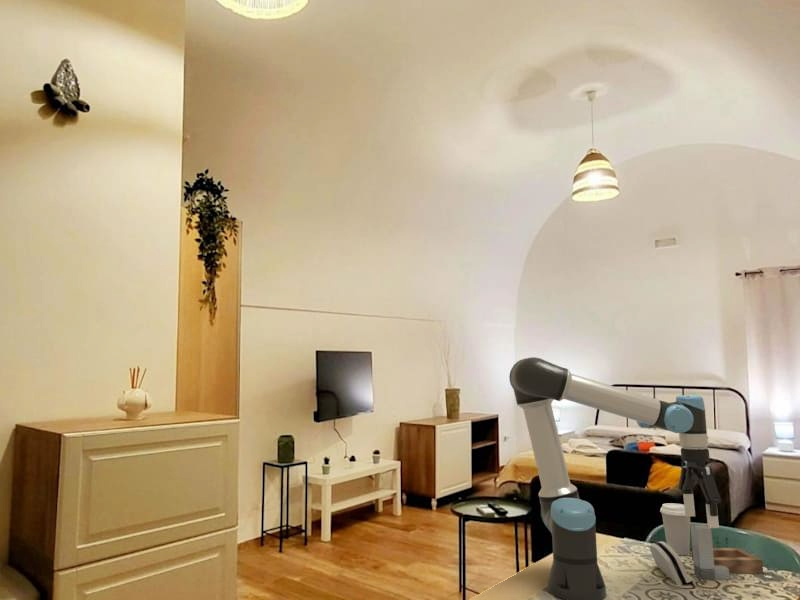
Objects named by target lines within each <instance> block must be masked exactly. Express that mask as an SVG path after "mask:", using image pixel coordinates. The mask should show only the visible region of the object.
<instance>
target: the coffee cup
mask: <svg viewBox="0 0 800 600" xmlns="http://www.w3.org/2000/svg"><path fill="white" fill-rule="evenodd" d="M659 512H660V513H661V516H662V522H663V523H662V524H663V528H664V535H665V541H666V542H665V543H666V544H668V545H669V546H670V547H671V548H672V549H673V550H674V551H675V552H676V554H679V555H688V554H691V516H687V517H686V516H685V508H684V503H683V504H682V503H673V502H670V503H669V502H668V503H663V504H662V506H661V507H660V510H659ZM688 556H689V555H688Z"/></svg>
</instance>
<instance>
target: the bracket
mask: <svg viewBox="0 0 800 600" xmlns="http://www.w3.org/2000/svg"><path fill="white" fill-rule="evenodd" d="M712 533H713V532H712V528H708V525H705V524H704V525H703V524H695V525H693V524H690V537H691V548H692V549H693V561H694V562H693V561H692V562H693V572H694V576H695V575H696V576H695V577H697V578H698V579H699V580H701V579H702V580H703V579H711V581H713V580H714V581H719V580H720V581H724V580H725V581H726V580H727V581H729V580H731V579H730V574H729V569H728V568H727V567H725V566H723V565H722V564H714V555H713V548H714V547H713V546H714V545H713V544H714V543H713V535H712ZM702 580H701V581H702ZM703 581H704V580H703Z"/></svg>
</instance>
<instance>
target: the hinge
mask: <svg viewBox="0 0 800 600" xmlns="http://www.w3.org/2000/svg"><path fill="white" fill-rule="evenodd" d="M648 548H649V550H650V552H651V556H652V558H653V560H654V562H655V565H657V566H658V567H659V568H660V569H661V570H662V571H661V570H660V569H659V568H658V567H657V566H656V567H657V568H658V569H659V570H660V571H661V572H663V574H665V576H667V577H668V576H669V577H670V578H671V579H672V580H671V579H670V578H669V577H668V578H669V579H670V580H671V581H672V582H673V583H674V584H676V585H677V586H682V585H683V584H684V583H686V584H688V583H691V584H692V585H693V586H697V584H696V581H695V580H694V578H693V577H691V575H689V574H688V573H687V571H686V569H685V566H684V565H683V562H682V560H681V558H680V556H678V555H677V554H676V552H675V551H674V550H673V549H672V548H671V547H670V546H669V545H668V544H667V542H665V541H656V543H651V544H650V545H649V546H648ZM683 582H684V583H683Z"/></svg>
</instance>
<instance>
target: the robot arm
mask: <svg viewBox="0 0 800 600" xmlns="http://www.w3.org/2000/svg"><path fill="white" fill-rule="evenodd" d="M508 376H509V384H510V386H511V388H512V389H513V392H514V397H515V401H516V402H515V403H516V406H518V407H519V408H521V409H522V410H523V414H524V419H525V422H526V423H525V424H526V426H527V430H528V435H529V439H530V442H531V448H532V451H533V452H532V453H533V455H534V459H535V464H536V468H537V473H538V477H539V481H540V487H541V488H540V490H539V492H538V498H539V499H538V500H539V503H540V517H541V519H542V523H544V524H543V525H544V526H545V527H546V528H547V529H548V531H549V532H550V533H551V537H552V540H551V542H552V543H551V544H552V556H553V557H552V559H553V560H552V564H551V568H550V571H549V573H548V578H547V590H548V592H549V593H550V594H551V595H552V596H555V597H557V598H559V599H563V600H603V599H604V598H606V596H607V589H606V584H605V580H604V578H603V575H602V572H601V569H600V566H599V564H598V552H597V551H598V548H597V547H598V546H597V533H596V532H597V531H596V529H597V527H596V519H597V518H596V515H595V509H594V507H593V505H592V504H591V503H590V502H589V501H586V500H583V499H580V496H579V495H580V494H579V491H578V488H577V486H575V485H574V484H572V483H571V480H570V476H569V472H568V469H567V463H566V460H565V457H564V452H563V448H562V444H561V440H560V435H559V430H558V427H557V423H556V420H555V416H554V412H553V406H552V403H553V401H554V400H555V401H557V402H561V401H563V400H566V401H570V402H573V403H576V404H580V405H583V406H586V407H591V408H594V409H595V410H600V411H603V412H607V413H609V414H612V415H615V416H619V417H623V418H626V419H629V420H634V421H635V422H636V423H637V425H638V427H639V428H641V429H649V430H650V429H659V430H663V431H668V432H671V433H675V434H678V435H679V436H678V437H679V438H678V439H679V446H680V447H681V448H680V457H681V458H680V459H681V460H682V461H680V462H681V463H680V465H681V468H680V469H681V470H680V476H679V482H678V483H679V484H678V489H679V491H681V493H682V494H683V495H682V496H683V497H682V498H683V505H684V508H685V516H686V517H687V516H690V517H696V510H695V509H696V507H695V500H694V499H695V498H694V490H693V489H694V486H695V484H696V483H697V484H699V486H700V489H701V492H702V494H703V495H704V499H705V500H706V501H705V503H704V504H705V510H706V511H705V512H706V522H707V527H708V528H711V529H720V525H719V524H720V523H719V515H718V514H719V513H718V504H722V499H721V496H720V492H719V489H718V487H717V483H716V481H715V476H714V475H713V469H712V468H713V467H711V466H709V467H708V466H707V467H706V463H709V462H710V460H711V459H710V451H709V450H710V449H708V446H709V440H708V439H709V436H708V431H707V430H708V429H707V419H706V418H707V417H706V416H707V415H706V406H705V401H704V398H703V397H702V396H701V395H697V394H696V395H694V394H689V395H686V394H685V395H676V396H675V401H673V402H668V401H667V402H666V401H663V400H660V399H657V398H653V397H651V396H647V395H644V394H641V393H637V392H634V391H630V390H628V389H625V388H621V387H618V386H614V385H610V384H608V383H605V382H604V383H603V382H600V381H597V380H593V379H590V378H586V377H584V376H580V375H577V374H574V373H571V371H570V369H568V368H565V367H563V366H561V365H557V364H554V363H552V362H550V361H548V360H545V359H543V358H540V357H536V356H535V357H527V358H525V357H524V358H522V359H519V360H517V361H516V362H515V363H514V364H513V366H512V367H511V369H510V372H509V375H508Z"/></svg>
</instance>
